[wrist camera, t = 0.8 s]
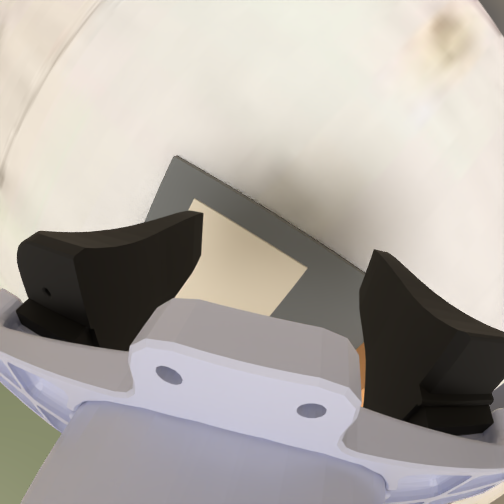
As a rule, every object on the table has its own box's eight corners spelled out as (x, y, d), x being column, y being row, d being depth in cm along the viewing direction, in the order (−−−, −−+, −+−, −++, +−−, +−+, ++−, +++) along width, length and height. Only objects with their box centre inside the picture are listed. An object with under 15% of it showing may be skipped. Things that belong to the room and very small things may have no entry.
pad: (244, 345, 26) (243, 347, 26) (151, 290, 26) (150, 291, 26) (307, 267, 22) (307, 268, 22) (194, 198, 22) (194, 198, 21)
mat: (371, 416, 29) (372, 420, 29) (123, 284, 27) (120, 287, 26) (460, 342, 23) (462, 346, 23) (176, 155, 21) (173, 156, 21)
